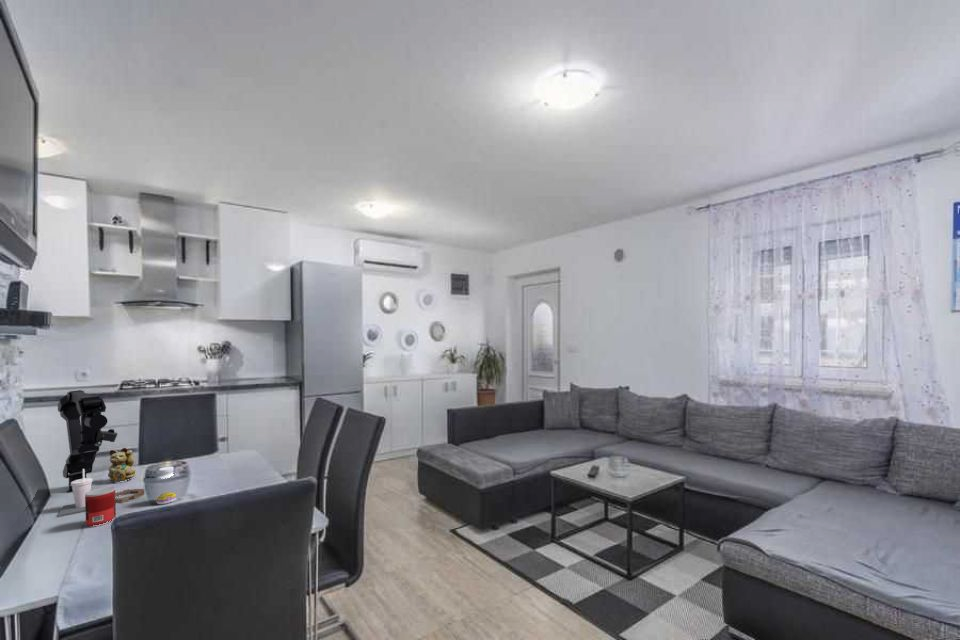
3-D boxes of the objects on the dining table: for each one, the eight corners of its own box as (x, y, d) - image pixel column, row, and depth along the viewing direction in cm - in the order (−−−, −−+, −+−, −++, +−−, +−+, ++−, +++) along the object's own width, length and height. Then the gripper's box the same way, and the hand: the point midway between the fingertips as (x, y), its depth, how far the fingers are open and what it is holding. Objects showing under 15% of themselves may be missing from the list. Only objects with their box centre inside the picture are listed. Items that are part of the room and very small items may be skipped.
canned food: (121, 518, 155) (120, 487, 156) (95, 528, 148) (94, 495, 148) (106, 516, 158) (106, 485, 158) (80, 526, 150) (79, 494, 151)
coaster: (63, 507, 169) (63, 505, 169) (103, 498, 176) (103, 497, 176) (58, 517, 159) (58, 515, 159) (101, 507, 167) (101, 506, 167)
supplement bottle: (166, 505, 166) (165, 471, 166) (151, 504, 167) (150, 470, 168) (181, 498, 173) (180, 465, 173) (167, 497, 174) (166, 465, 174)
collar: (107, 495, 179) (107, 493, 179) (144, 488, 187) (144, 485, 187) (105, 506, 168) (105, 503, 168) (144, 498, 175) (144, 495, 175)
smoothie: (93, 505, 168) (92, 468, 168) (70, 510, 163) (69, 473, 164) (93, 501, 172) (92, 465, 173) (71, 506, 168) (70, 469, 168)
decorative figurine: (106, 485, 193) (105, 451, 193) (110, 480, 200) (109, 447, 200) (134, 480, 198) (133, 447, 198) (137, 475, 205) (136, 443, 205)
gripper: (114, 426, 177) (115, 465, 177) (116, 420, 192) (117, 456, 192) (77, 431, 170) (78, 472, 170) (82, 424, 185) (83, 461, 185)
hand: (91, 465), depth 179 cm, fingers open, 9 cm apart
